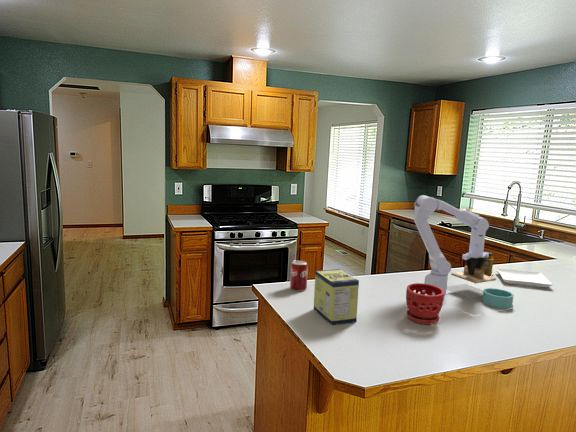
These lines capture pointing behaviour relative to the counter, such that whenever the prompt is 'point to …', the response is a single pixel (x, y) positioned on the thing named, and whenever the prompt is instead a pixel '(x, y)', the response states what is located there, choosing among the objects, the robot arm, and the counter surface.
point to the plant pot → (424, 303)
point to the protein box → (336, 296)
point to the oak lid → (474, 276)
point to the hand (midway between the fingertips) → (473, 274)
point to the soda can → (298, 275)
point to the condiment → (488, 265)
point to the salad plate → (524, 278)
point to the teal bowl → (498, 298)
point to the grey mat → (466, 290)
